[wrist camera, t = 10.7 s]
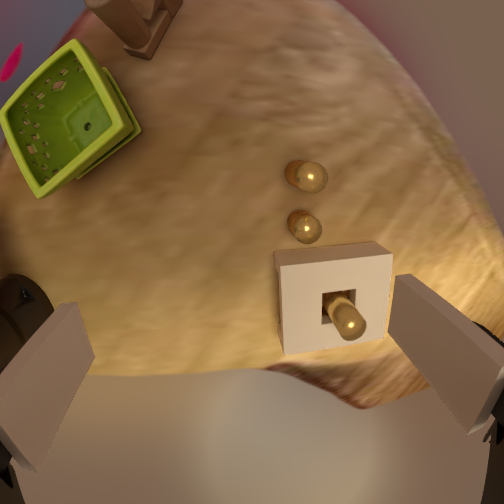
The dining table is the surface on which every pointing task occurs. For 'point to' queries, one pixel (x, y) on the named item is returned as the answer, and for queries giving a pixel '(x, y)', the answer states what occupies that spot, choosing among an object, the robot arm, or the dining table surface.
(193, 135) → the dining table surface
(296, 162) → the pin medium
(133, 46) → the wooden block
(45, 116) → the flower pot
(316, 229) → the pin short
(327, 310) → the pin long
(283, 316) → the white block with hole
